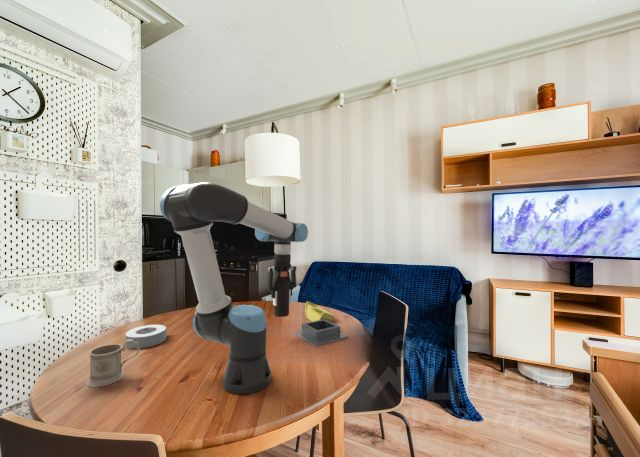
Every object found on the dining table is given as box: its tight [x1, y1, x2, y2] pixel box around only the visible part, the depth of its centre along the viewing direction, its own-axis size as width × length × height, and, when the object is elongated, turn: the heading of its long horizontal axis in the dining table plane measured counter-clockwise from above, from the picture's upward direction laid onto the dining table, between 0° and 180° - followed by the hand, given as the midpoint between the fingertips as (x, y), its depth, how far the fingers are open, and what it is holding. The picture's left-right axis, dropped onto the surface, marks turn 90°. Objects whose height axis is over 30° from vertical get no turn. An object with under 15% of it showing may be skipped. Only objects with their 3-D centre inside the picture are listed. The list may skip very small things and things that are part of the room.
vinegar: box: [273, 271, 290, 318], centre depth 128 cm, size 7×7×20 cm
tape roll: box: [124, 324, 167, 349], centre depth 123 cm, size 15×15×5 cm
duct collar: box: [294, 318, 349, 347], centre depth 130 cm, size 18×18×5 cm
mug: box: [85, 339, 141, 388], centre depth 92 cm, size 14×10×12 cm
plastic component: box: [304, 301, 335, 322], centre depth 157 cm, size 20×7×10 cm
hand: (281, 304), depth 128 cm, fingers closed on vinegar, 6 cm apart
